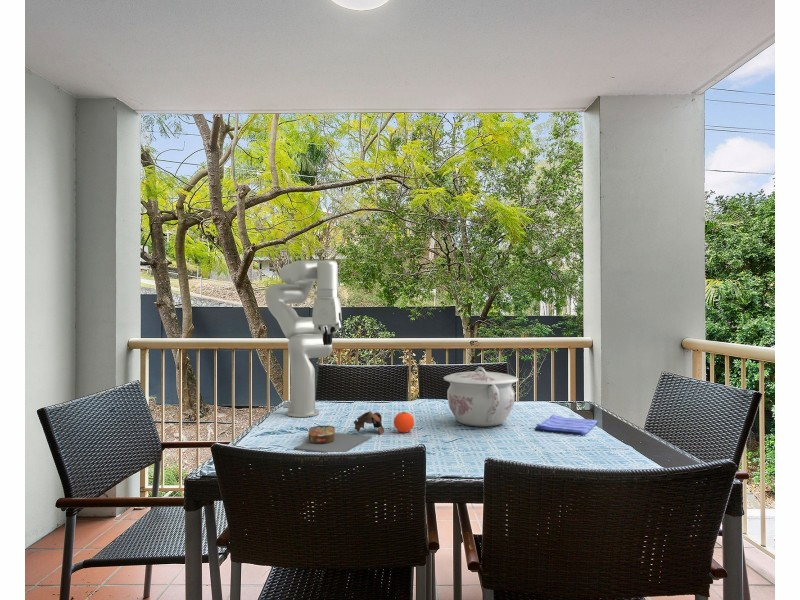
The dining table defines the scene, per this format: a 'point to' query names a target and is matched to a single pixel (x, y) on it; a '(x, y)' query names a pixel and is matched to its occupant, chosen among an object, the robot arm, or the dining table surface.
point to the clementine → (403, 422)
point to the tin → (321, 434)
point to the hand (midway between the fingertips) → (327, 344)
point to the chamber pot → (481, 397)
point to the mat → (335, 443)
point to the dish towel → (566, 425)
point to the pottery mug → (369, 421)
